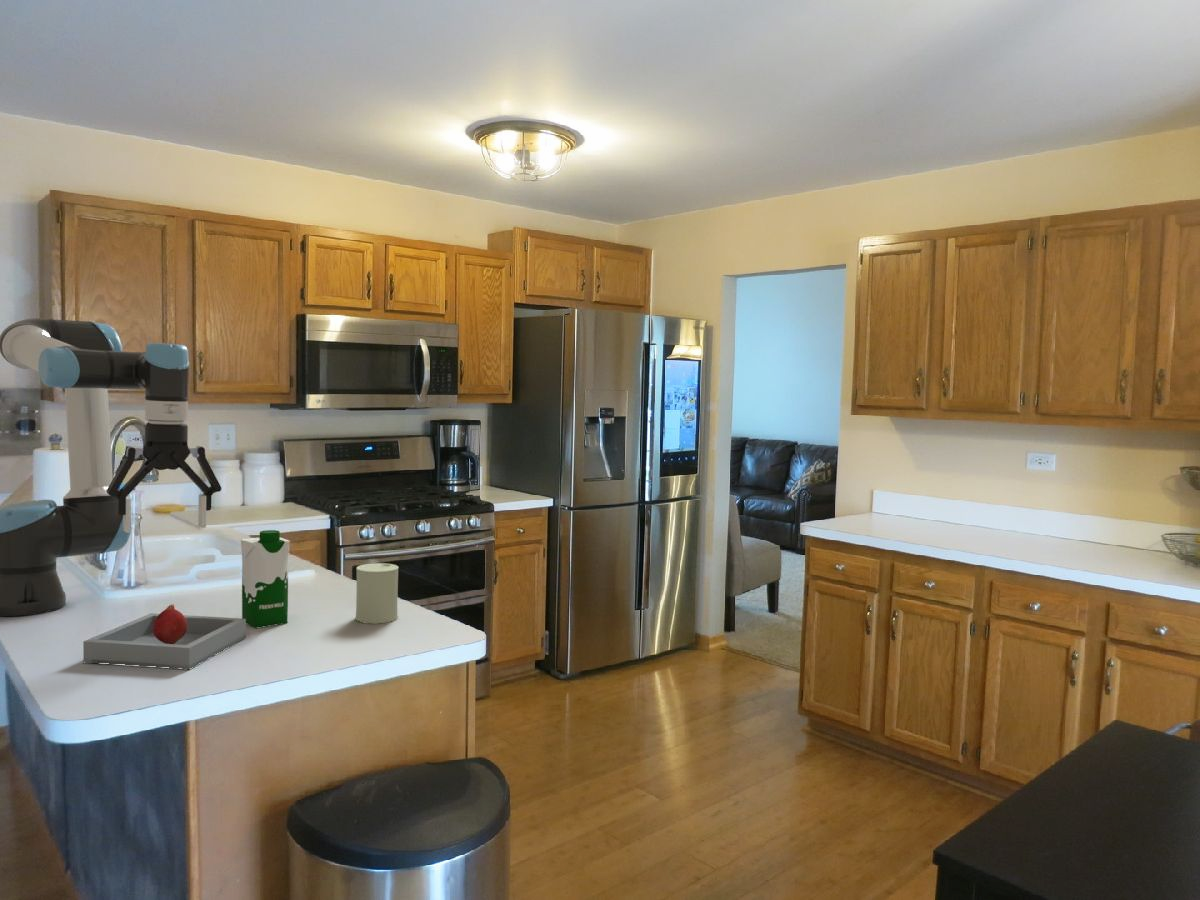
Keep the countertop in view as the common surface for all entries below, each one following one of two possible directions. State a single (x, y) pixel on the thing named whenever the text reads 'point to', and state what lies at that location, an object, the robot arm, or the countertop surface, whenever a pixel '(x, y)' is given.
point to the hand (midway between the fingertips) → (165, 529)
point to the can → (377, 593)
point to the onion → (170, 625)
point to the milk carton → (265, 579)
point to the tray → (145, 649)
